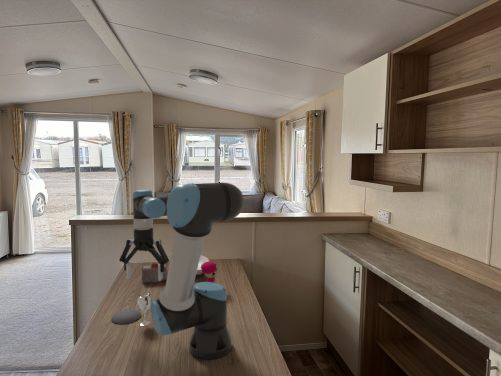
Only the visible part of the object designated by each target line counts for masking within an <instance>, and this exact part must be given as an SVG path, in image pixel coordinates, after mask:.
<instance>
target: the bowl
mask: <svg viewBox="0 0 501 376" xmlns="http://www.w3.org/2000/svg"><path fill="white" fill-rule="evenodd" d="M208 261H210V260H209V258H208V257H206V256H205V255H201V254H200V259H199V263H198V268H197V272H196V276H200V275H202V274H203V273H202V269H201V265H202V264H203V263H205V262H208Z"/></svg>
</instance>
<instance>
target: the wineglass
mask: <svg viewBox="0 0 501 376" xmlns="http://www.w3.org/2000/svg"><path fill="white" fill-rule="evenodd" d="M152 301H153V300H152V295H151V293H150V292H143V293H140V294H138V297H137V301H136V305H137V309H138V311H139V310H140V311H141V312H143V317H144V318H143V320H142V321H139V325H140V326H143V327H146V326H149V325H150V324H151V321H150V320H148V319H146V314H147V311H148V310H150V304H151V302H152Z"/></svg>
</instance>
